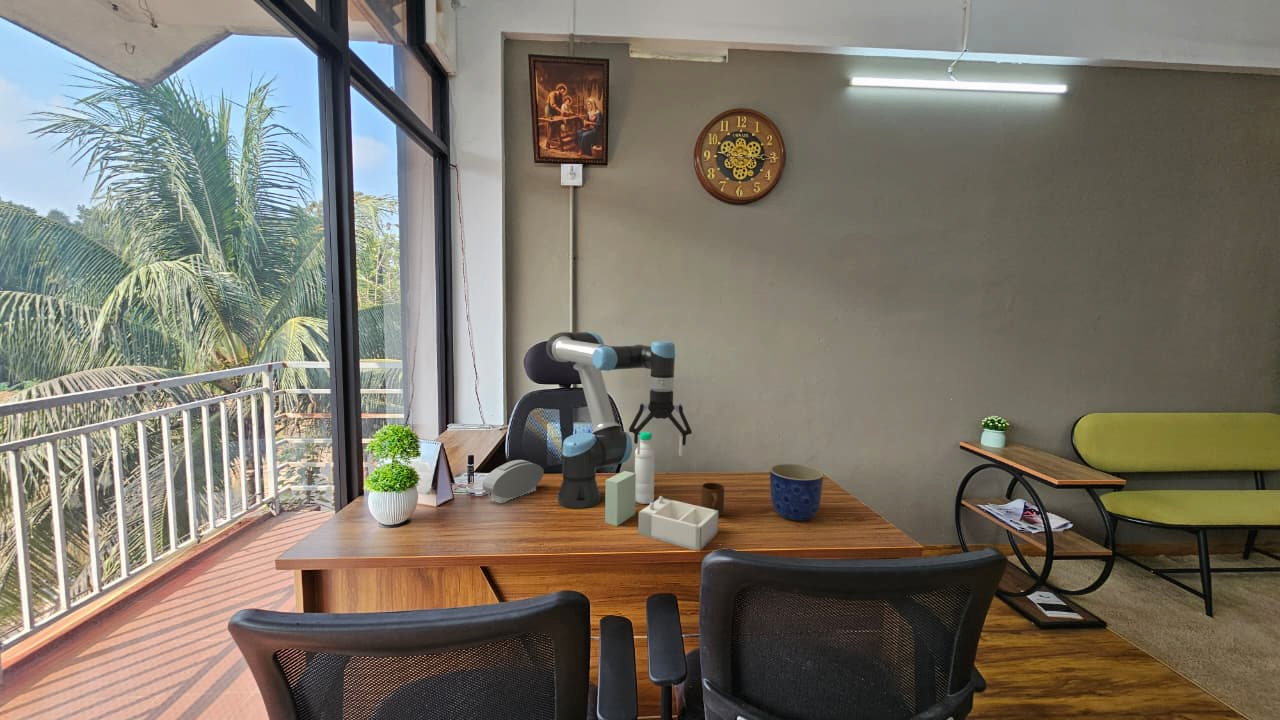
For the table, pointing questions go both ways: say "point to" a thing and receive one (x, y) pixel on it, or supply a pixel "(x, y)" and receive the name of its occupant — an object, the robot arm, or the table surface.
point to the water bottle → (644, 470)
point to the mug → (713, 497)
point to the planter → (795, 490)
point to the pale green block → (620, 497)
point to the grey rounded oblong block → (512, 480)
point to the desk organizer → (678, 523)
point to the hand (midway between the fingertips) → (659, 454)
